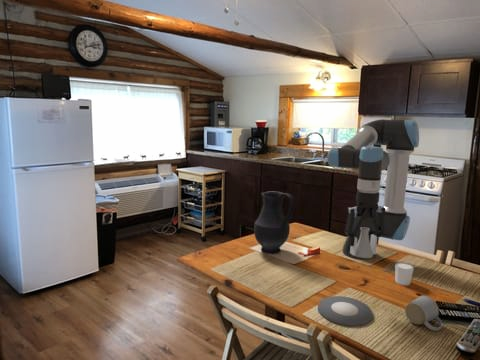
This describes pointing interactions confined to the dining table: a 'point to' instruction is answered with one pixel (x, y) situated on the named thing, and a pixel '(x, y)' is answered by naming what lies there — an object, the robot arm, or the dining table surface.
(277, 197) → the pitcher
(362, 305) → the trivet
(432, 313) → the ceramic mug
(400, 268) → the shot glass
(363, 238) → the flask
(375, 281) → the dining table surface
